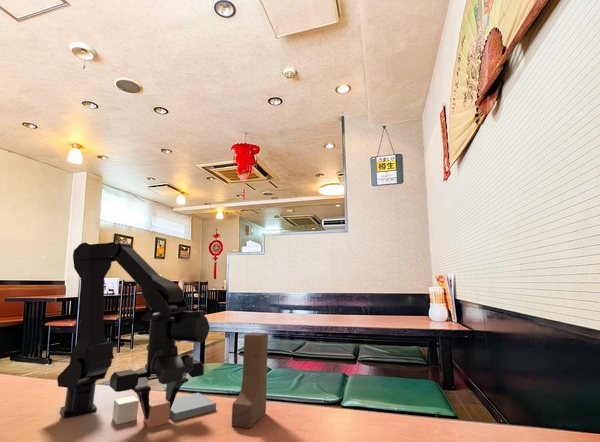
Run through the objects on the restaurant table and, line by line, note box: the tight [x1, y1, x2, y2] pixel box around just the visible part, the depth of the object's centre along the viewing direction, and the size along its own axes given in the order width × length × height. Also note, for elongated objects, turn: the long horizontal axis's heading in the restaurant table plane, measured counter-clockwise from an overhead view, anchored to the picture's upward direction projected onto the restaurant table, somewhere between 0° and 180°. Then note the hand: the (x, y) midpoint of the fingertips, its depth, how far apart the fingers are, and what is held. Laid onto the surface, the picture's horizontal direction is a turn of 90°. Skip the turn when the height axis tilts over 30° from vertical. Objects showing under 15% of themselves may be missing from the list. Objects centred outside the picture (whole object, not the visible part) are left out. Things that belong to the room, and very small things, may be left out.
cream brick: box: [112, 395, 140, 425], centre depth 73 cm, size 4×4×4 cm
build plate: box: [169, 392, 217, 422], centre depth 79 cm, size 10×10×2 cm
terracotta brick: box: [142, 397, 170, 428], centre depth 72 cm, size 4×4×4 cm
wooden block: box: [231, 331, 269, 429], centre depth 75 cm, size 9×4×18 cm, turn 164°
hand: (156, 416), depth 71 cm, fingers closed on terracotta brick, 4 cm apart
